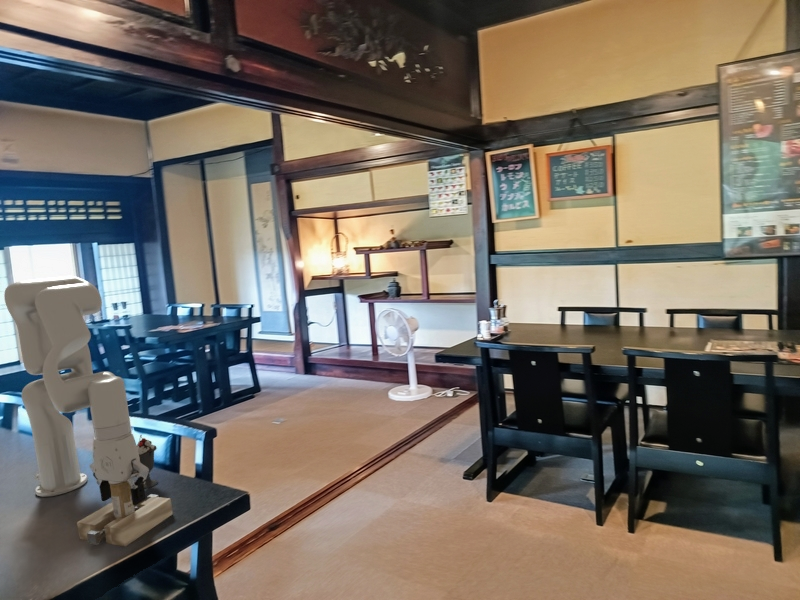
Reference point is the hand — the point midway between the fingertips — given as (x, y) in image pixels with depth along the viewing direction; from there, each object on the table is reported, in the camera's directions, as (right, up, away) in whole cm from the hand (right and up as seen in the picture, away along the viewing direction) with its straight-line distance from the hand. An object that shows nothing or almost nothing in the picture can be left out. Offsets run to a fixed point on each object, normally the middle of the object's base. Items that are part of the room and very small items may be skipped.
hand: (123, 500), depth 127 cm
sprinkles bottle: (0, -7, +1) cm, 7 cm away
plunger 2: (+2, -5, +6) cm, 8 cm away
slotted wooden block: (+1, -6, +1) cm, 6 cm away
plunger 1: (-2, -6, -5) cm, 8 cm away
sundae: (-5, -4, +23) cm, 24 cm away
